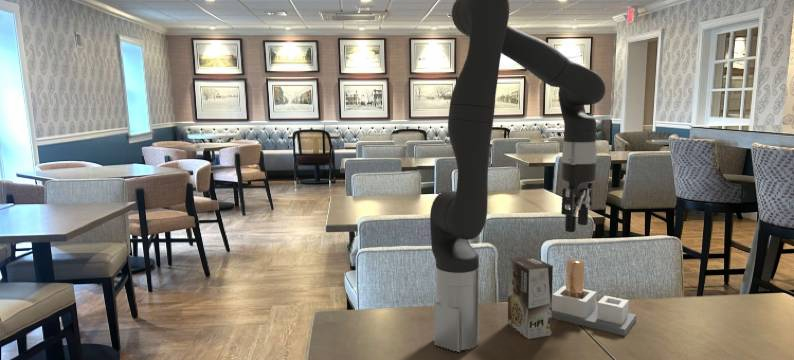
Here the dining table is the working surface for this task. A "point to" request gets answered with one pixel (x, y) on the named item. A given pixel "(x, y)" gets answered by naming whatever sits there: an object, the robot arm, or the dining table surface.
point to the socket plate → (593, 311)
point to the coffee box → (530, 296)
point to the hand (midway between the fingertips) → (576, 228)
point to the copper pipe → (575, 278)
